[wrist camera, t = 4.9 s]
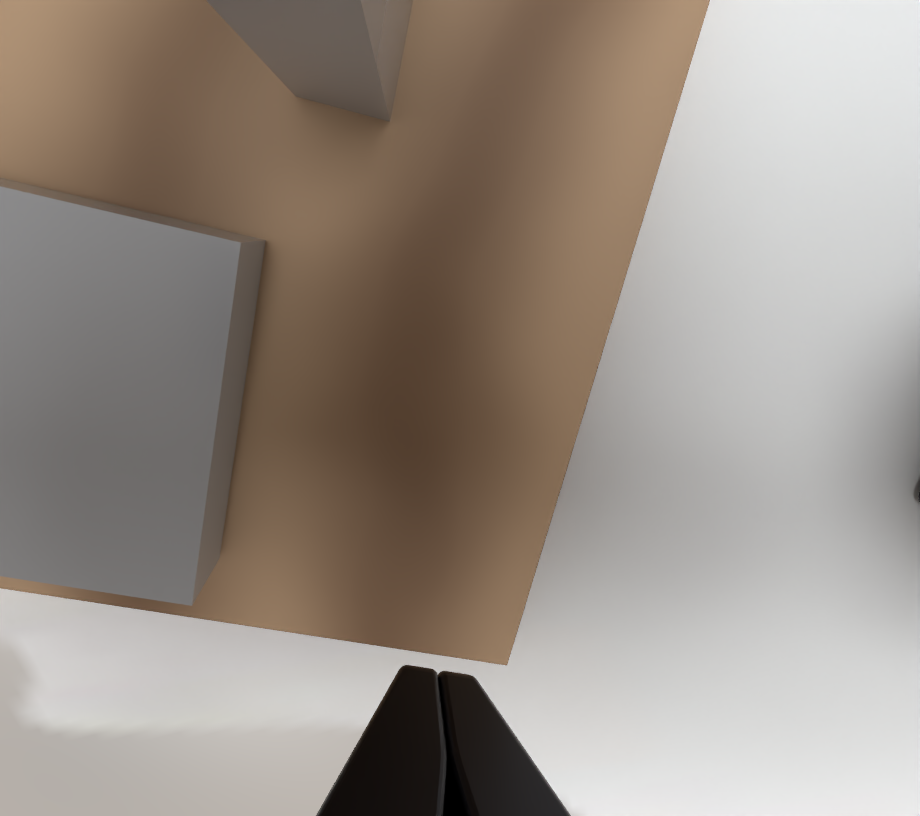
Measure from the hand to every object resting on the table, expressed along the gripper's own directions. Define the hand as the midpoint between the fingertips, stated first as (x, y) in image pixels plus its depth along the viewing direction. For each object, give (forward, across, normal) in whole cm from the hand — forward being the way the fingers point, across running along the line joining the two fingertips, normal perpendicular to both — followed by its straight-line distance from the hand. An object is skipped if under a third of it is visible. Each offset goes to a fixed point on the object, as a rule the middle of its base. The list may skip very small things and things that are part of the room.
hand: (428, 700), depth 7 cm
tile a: (+7, +4, 0) cm, 9 cm away
